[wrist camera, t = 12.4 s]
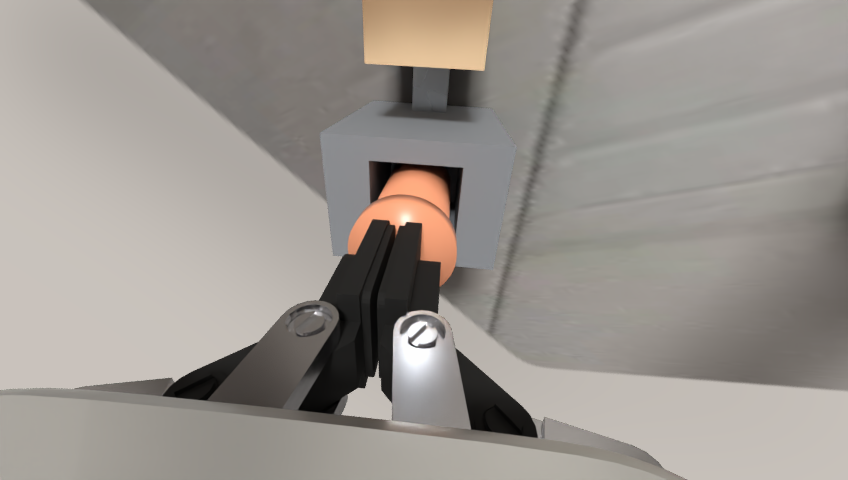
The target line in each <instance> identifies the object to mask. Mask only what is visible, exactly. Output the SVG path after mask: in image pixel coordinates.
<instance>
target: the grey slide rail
mask: <svg viewBox="0 0 848 480" xmlns="http://www.w3.org/2000/svg"><path fill="white" fill-rule="evenodd" d="M449 76H450V69H448V68H432V67H415V66H413V99H412V111H425V112H440V113H446V109H447V101H448V88H449Z"/></svg>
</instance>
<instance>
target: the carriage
mask: <svg viewBox="0 0 848 480" xmlns="http://www.w3.org/2000/svg"><path fill="white" fill-rule="evenodd" d="M362 4H363V30H364V56H365V64H382V65H398V66H415V67H432V68H448V69H465V70H482V71H484V68H485V60H486V52H487V44H488V37H489V29H490V21H491V13H492V5H493V0H362Z"/></svg>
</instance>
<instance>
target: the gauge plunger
mask: <svg viewBox="0 0 848 480" xmlns="http://www.w3.org/2000/svg"><path fill="white" fill-rule="evenodd" d="M450 188H451V182H450V176H449V174H448V171H447V170H446V168H445V167H444V166H434V165H421V164H407V163H398V164H397V165H396V166H395V168H394V169H393V171H392V173H391V175H390V177H389V179H388V181H387V183H386V185H385V187H384V188H383V190H382V192H381V194H380V196H379V198H378V200H376V201H374V202H373V203H371V204H370V205H369V206H367V207H366V208H365V209H364V210H363V212H362V213H361V214H360V216H359V217H358V219H357V221H356V223H355V224H354V226H353V228H352V230H351V232H350V235H349V239H348V254H354V255H355V254H356V252H357V250H358V248H359V246H360V244H361V242H362V240H363V238H364V236H365V234H366V232H367V230H368V228H369V226H370V223H371V221H372V220H373V219H378V220H389V222H390V225H395V238H396V235H397V232H398V228H399V226H400V225H401V226H405V223H406V222H415V223H422V238H421V257H420V260H424V261H436V262H441V270H440V286H441V285H443V284H444V283H445V282H446V281H447V280H448V278H449V277H450V276H451V274H452V272H453V270H454V267H455V264H456V259H457V239H456V233H455V229H454V227H453V225H452V223H451V221H450V219H449V215H450Z"/></svg>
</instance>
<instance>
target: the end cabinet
mask: <svg viewBox="0 0 848 480" xmlns="http://www.w3.org/2000/svg"><path fill="white" fill-rule="evenodd" d="M320 142H321V151H322V160H323V169H324V178H325V187H326V195H327V204H328V213H329V221H330V231H331V240H332V249H333V255H334V256H344V255H345V254H348V239H349V235H350V232H351V230H352V228H353V226H354V224H355V223H356V221H357V219H358V217H359V216H360V214H361V213H362V212H363V210H364V209H365V208H366V207H367V206H369V205H370V204H371V203H373V202H374V201H376V200H378V198H379V196H380V194H381V192H382V190H383V188H384V187H385V185H386V183H387V181H388V179H389V177H390V175H391V173H392V171H393V169H394V168H395V166H396V165H397V164H398V163H407V164H421V165H434V166H444V167H445V168H446V170H447V171H448V174H449V176H450V182H451V188H450V215H449V219H450V221H451V223H452V225H453V227H454V229H455V233H456V239H457V259H456V264H455V266H457V267H468V268H479V269H490V270H493V267H494V262H495V257H496V251H497V246H498V241H499V236H500V231H501V226H502V220H503V215H504V210H505V205H506V200H507V195H508V190H509V184H510V179H511V174H512V169H513V164H514V159H515V153H516V148H517V147H516V145H515V143H514V142H513V140H512V139H511V137H510V136H509V134H508V132H507V131H506V129H505V128H504V126H503V125H502V123H501V121H500V120H499V118H498V117H497V115H496V114H495V112H494V110H493V109H492V108H478V107H462V106H447V109H446V113H440V112H425V111H412V103H401V102H386V101H372V102H370V103H368V104H367V105H365V106H363V107H362V108H360V109H359V110H357V111H355V112H354V113H352V114H350V115H349V116H347V117H345V118H344V119H342V120H340V121H339V122H337V123H335V124H334V125H332V126H330V127H329V128H327V129H325V130H324V131H322V132H320Z"/></svg>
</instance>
